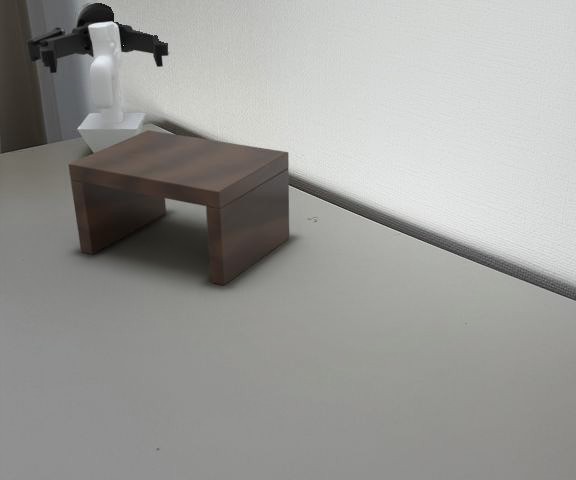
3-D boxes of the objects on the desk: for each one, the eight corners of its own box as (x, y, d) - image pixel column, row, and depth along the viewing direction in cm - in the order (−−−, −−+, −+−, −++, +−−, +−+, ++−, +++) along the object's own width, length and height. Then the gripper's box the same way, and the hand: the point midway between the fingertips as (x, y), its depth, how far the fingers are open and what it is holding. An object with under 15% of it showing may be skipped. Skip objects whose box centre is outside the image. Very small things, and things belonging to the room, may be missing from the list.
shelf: (80, 251, 82) (67, 163, 78) (155, 211, 91) (148, 129, 87) (223, 285, 76) (218, 191, 71) (289, 238, 85) (288, 151, 80)
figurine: (79, 162, 105) (60, 30, 97) (95, 139, 113) (79, 15, 105) (138, 161, 105) (125, 30, 97) (150, 138, 113) (138, 15, 105)
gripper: (187, 50, 134) (204, 82, 116) (20, 59, 129) (11, 94, 112) (183, -3, 130) (200, 22, 112) (11, 5, 125) (0, 32, 108)
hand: (105, 58), depth 112 cm, fingers open, 13 cm apart
